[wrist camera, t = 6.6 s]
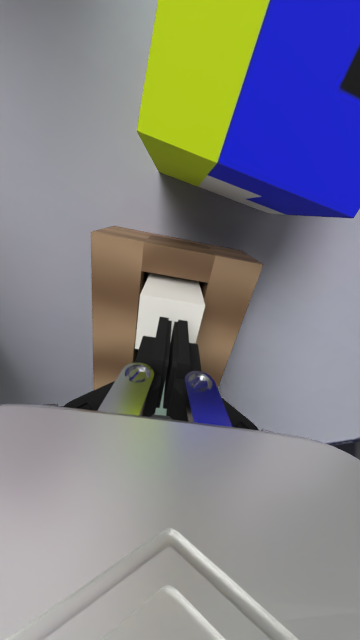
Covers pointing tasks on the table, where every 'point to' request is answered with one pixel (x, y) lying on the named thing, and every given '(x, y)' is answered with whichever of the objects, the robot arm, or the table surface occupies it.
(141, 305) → the key ivory
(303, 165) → the puzzle toy
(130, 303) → the brown wooden block holder
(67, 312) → the table surface
